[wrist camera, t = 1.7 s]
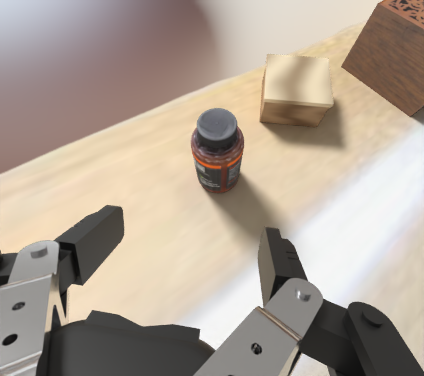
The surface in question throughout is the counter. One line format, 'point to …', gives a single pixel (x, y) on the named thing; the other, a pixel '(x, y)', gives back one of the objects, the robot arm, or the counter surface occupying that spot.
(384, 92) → the tissue box cover
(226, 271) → the counter surface
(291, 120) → the pedestal
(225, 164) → the supplement bottle
